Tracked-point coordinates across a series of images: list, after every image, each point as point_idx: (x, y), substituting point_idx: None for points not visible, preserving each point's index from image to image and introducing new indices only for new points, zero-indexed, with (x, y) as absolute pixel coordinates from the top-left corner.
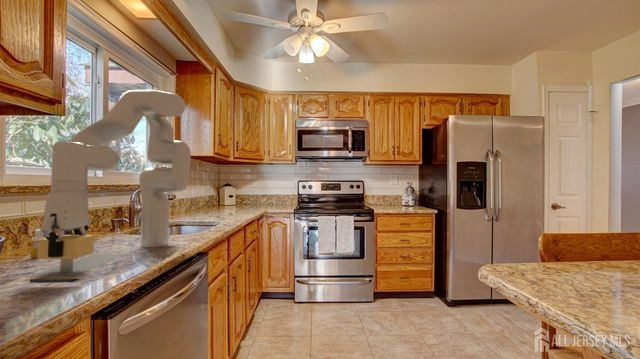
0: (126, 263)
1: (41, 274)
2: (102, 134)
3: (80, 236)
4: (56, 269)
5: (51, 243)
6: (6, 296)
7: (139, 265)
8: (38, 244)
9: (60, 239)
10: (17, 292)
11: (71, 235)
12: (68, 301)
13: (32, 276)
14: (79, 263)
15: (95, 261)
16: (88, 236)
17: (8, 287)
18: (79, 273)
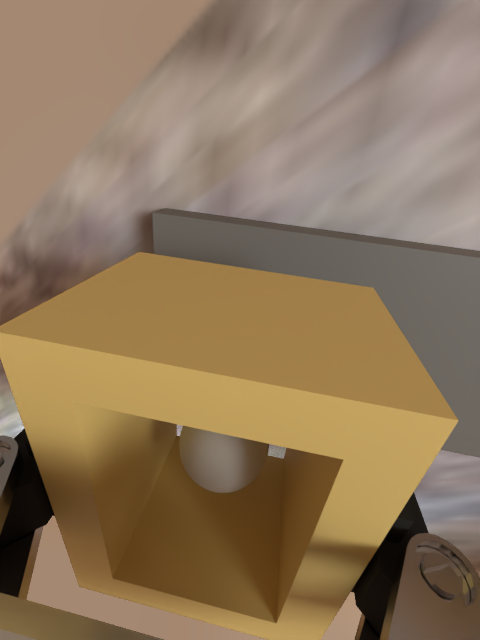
0: (443, 473)
1: (192, 247)
2: None
3: (287, 586)
4: (293, 268)
5: (21, 448)
6: (9, 239)
7: None
8: (51, 303)
9: (34, 526)
10: (49, 249)
11: (328, 544)
12: (20, 423)
13: (156, 223)
14: (425, 328)
15: (446, 392)
16: (233, 628)
17: (98, 151)
18: None
